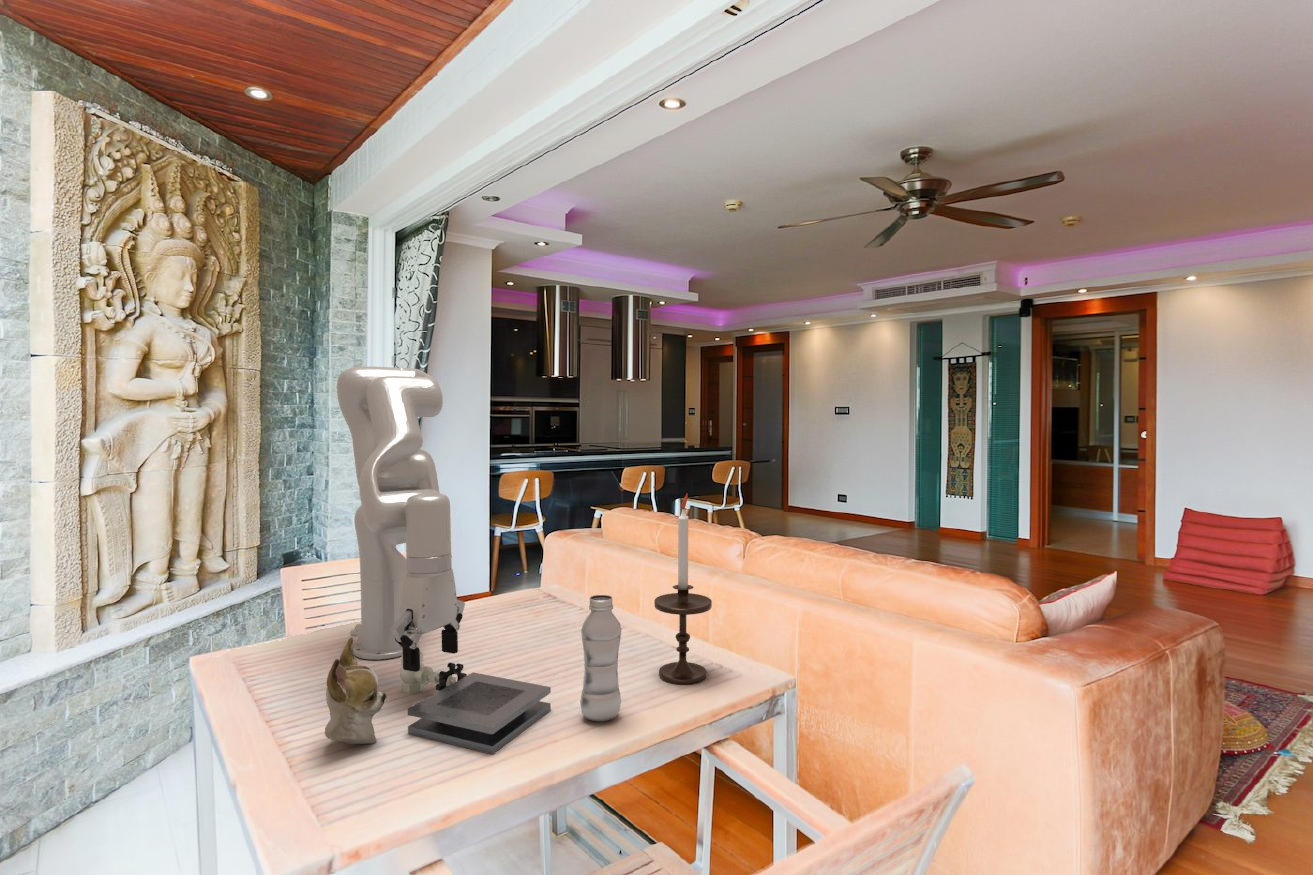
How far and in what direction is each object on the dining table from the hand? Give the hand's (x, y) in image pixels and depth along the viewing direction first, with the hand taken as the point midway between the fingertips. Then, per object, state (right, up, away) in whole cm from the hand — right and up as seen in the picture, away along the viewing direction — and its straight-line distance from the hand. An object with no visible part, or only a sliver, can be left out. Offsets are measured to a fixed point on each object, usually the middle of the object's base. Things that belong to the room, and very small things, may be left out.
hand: (431, 661), depth 121 cm
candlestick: (+45, -6, +10) cm, 46 cm away
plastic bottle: (+30, -7, -8) cm, 32 cm away
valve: (-1, -7, +1) cm, 7 cm away
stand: (+11, -7, -10) cm, 16 cm away
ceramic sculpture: (-6, -7, -17) cm, 19 cm away
